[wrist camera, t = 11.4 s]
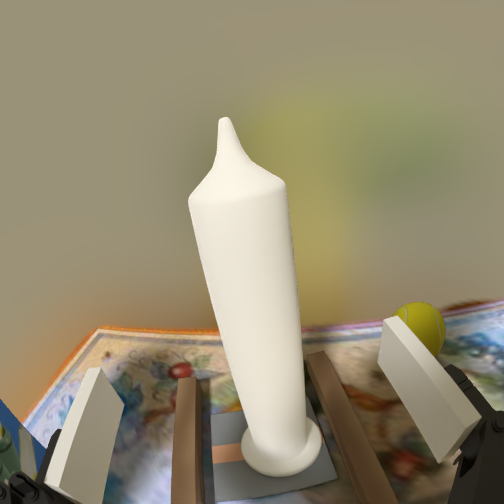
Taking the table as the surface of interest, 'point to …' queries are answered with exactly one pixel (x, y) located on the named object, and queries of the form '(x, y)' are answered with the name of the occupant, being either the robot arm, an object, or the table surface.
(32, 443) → the string lights box
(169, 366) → the table surface
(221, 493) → the band mat
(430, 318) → the tennis ball
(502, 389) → the table surface
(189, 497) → the bar
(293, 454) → the candle
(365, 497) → the guide strip
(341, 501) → the table surface
